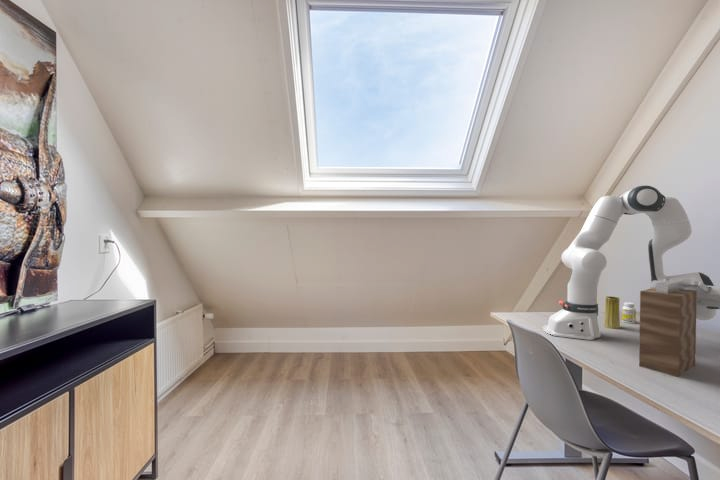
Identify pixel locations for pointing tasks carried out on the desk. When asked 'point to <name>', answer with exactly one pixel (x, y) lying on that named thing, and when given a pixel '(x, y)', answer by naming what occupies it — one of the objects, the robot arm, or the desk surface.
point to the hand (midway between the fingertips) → (681, 282)
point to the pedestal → (668, 331)
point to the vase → (612, 313)
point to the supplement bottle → (628, 313)
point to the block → (673, 285)
